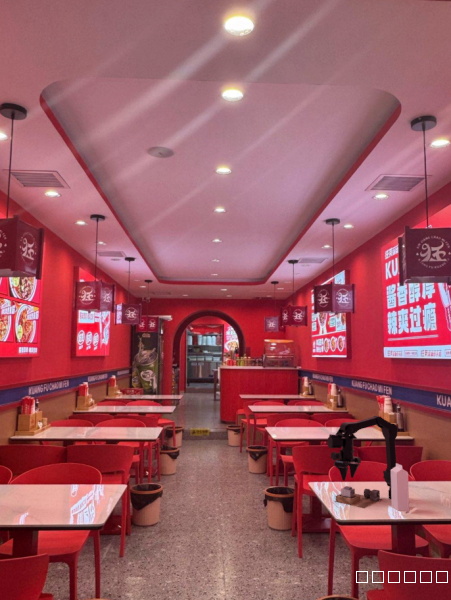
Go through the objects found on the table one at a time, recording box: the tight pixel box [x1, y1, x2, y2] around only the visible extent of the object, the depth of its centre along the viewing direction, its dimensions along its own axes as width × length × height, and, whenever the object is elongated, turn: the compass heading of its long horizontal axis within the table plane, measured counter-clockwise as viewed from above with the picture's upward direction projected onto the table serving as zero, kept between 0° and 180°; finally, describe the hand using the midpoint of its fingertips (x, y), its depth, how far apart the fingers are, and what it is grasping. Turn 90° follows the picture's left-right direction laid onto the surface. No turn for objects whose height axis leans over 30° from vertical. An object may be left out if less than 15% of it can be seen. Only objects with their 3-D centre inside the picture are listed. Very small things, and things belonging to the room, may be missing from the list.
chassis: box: [334, 489, 384, 509], centre depth 243 cm, size 16×22×6 cm
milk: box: [390, 462, 410, 514], centre depth 231 cm, size 6×6×22 cm
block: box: [340, 485, 356, 498], centre depth 241 cm, size 5×5×7 cm
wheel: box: [363, 488, 372, 498], centre depth 246 cm, size 6×4×4 cm
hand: (347, 479), depth 243 cm, fingers open, 9 cm apart
